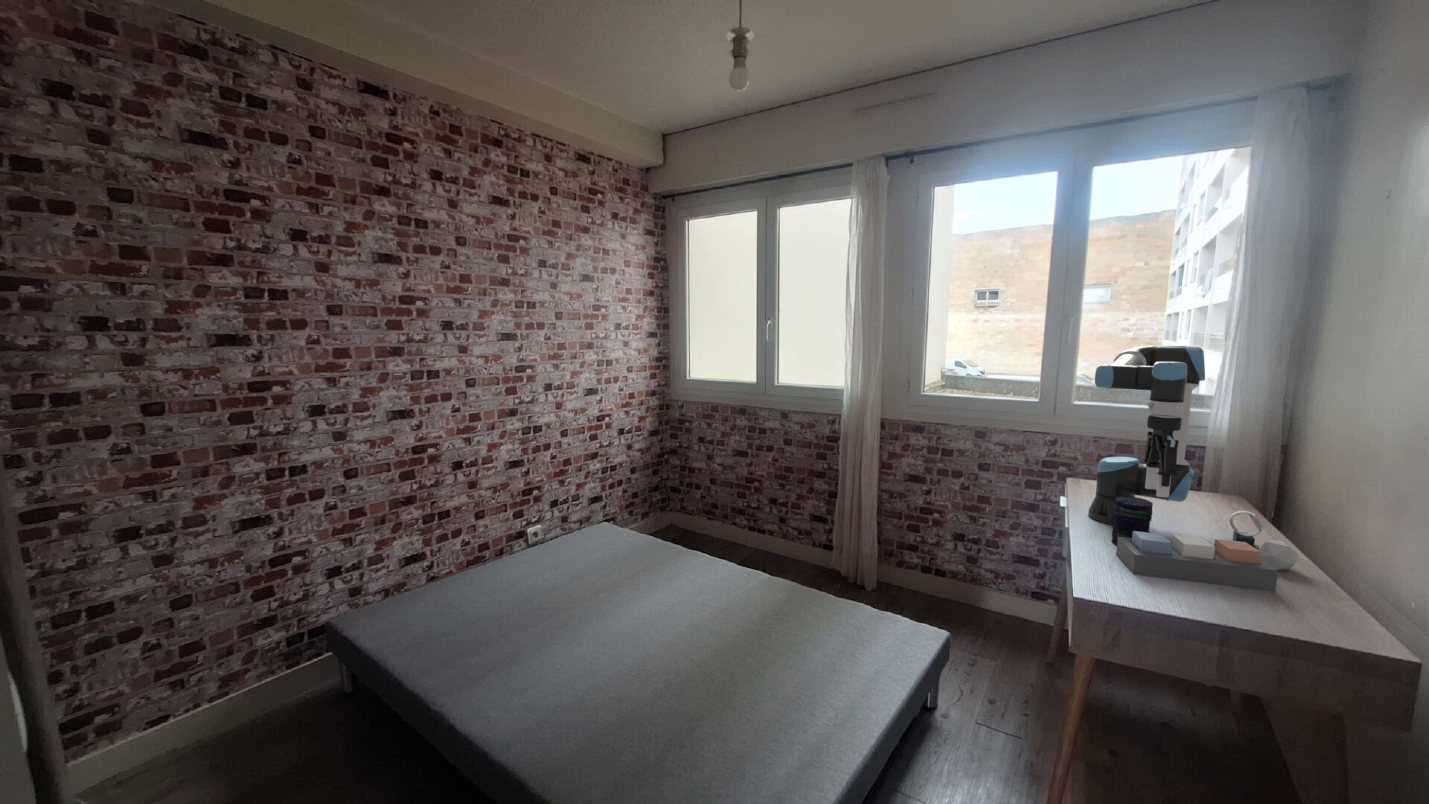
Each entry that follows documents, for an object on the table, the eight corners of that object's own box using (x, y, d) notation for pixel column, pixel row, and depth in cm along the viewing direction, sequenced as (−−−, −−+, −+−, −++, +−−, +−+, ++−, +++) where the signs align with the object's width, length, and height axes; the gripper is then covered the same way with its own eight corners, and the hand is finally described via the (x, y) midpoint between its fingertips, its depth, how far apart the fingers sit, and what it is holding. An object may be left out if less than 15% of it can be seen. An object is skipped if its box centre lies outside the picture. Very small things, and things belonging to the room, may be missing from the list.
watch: (1262, 549, 172) (1266, 516, 171) (1227, 543, 177) (1231, 511, 176) (1258, 544, 177) (1263, 511, 175) (1225, 538, 182) (1229, 507, 180)
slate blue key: (1131, 546, 165) (1132, 531, 164) (1159, 549, 163) (1160, 533, 162) (1140, 555, 158) (1142, 539, 158) (1169, 559, 156) (1171, 542, 155)
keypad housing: (1116, 554, 170) (1117, 536, 169) (1245, 569, 159) (1247, 550, 158) (1133, 574, 157) (1135, 554, 156) (1275, 591, 146) (1278, 570, 145)
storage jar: (1133, 538, 182) (1137, 496, 180) (1156, 550, 173) (1161, 505, 170) (1103, 538, 182) (1107, 496, 180) (1125, 550, 173) (1129, 505, 171)
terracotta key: (1213, 555, 158) (1215, 539, 157) (1243, 558, 156) (1245, 542, 155) (1226, 565, 152) (1228, 548, 151) (1257, 568, 149) (1260, 551, 149)
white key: (1171, 550, 162) (1173, 535, 161) (1200, 553, 159) (1202, 537, 158) (1182, 560, 155) (1184, 543, 154) (1212, 563, 153) (1214, 547, 152)
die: (1275, 563, 164) (1252, 536, 166) (1311, 559, 157) (1287, 531, 158) (1267, 578, 160) (1244, 551, 162) (1303, 576, 153) (1279, 547, 154)
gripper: (1135, 409, 165) (1128, 482, 168) (1164, 420, 147) (1155, 501, 150) (1165, 410, 163) (1157, 484, 166) (1198, 422, 144) (1188, 504, 147)
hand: (1156, 492), depth 158 cm, fingers open, 7 cm apart
